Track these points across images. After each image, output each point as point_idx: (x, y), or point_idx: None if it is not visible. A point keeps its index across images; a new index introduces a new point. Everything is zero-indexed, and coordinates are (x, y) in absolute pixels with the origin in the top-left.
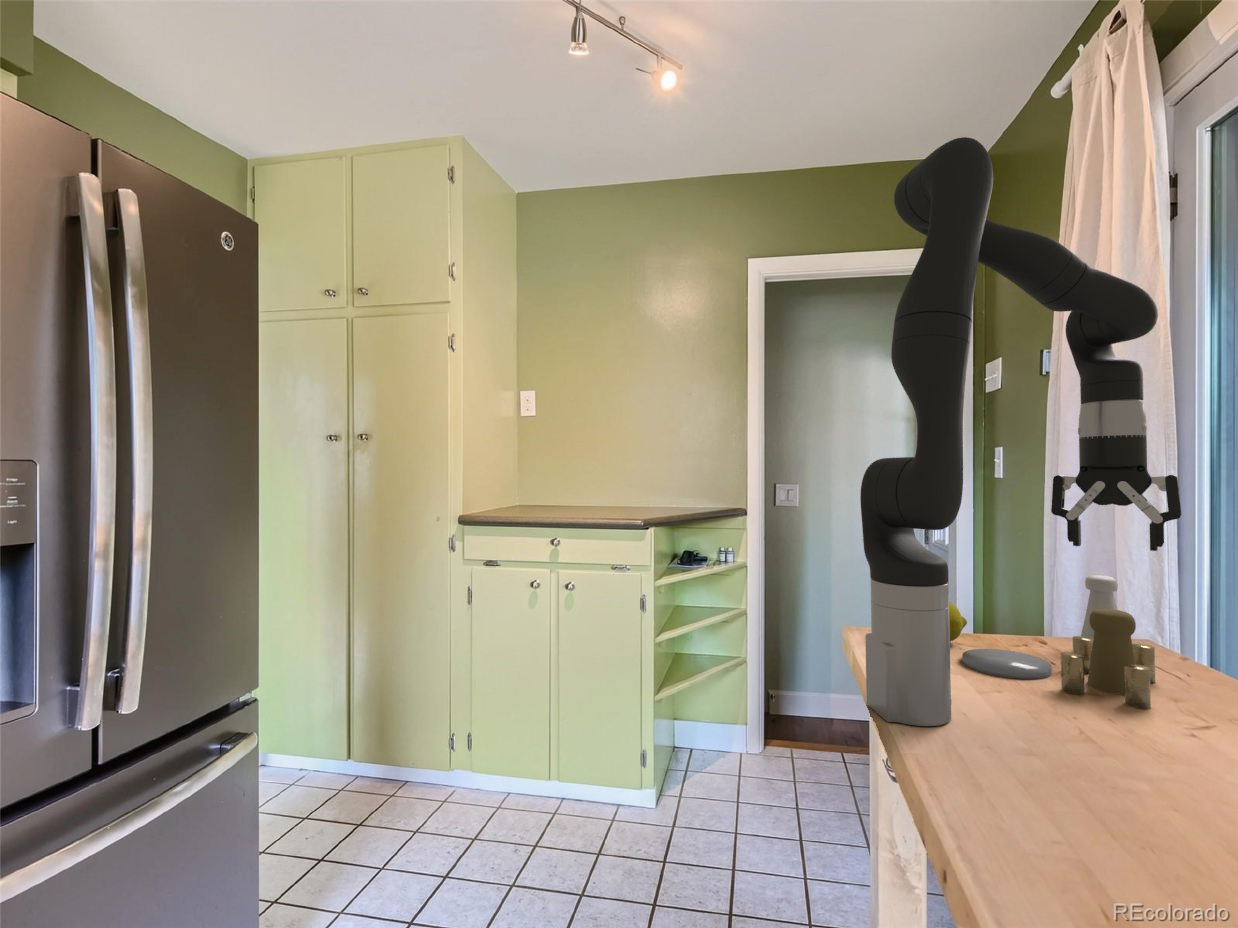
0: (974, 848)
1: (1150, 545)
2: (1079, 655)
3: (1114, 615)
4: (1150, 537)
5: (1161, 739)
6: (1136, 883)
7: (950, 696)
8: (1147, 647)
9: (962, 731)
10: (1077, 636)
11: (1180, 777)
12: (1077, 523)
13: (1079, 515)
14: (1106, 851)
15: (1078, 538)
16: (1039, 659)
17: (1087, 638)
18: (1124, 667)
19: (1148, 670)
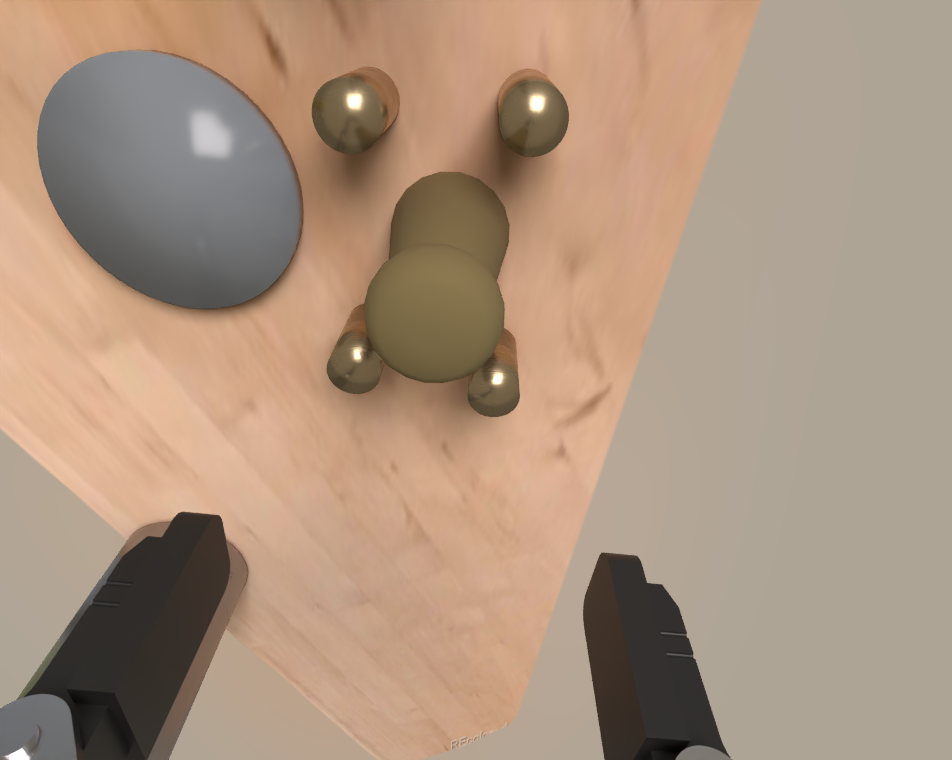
0: (364, 732)
1: (588, 635)
2: (368, 359)
3: (440, 379)
4: (597, 686)
5: (513, 489)
6: (464, 724)
7: (231, 595)
8: (545, 134)
9: (274, 581)
10: (324, 89)
11: (517, 583)
12: (149, 737)
13: (83, 757)
14: (446, 706)
15: (209, 621)
16: (244, 125)
17: (360, 106)
18: (468, 398)
19: (515, 405)
